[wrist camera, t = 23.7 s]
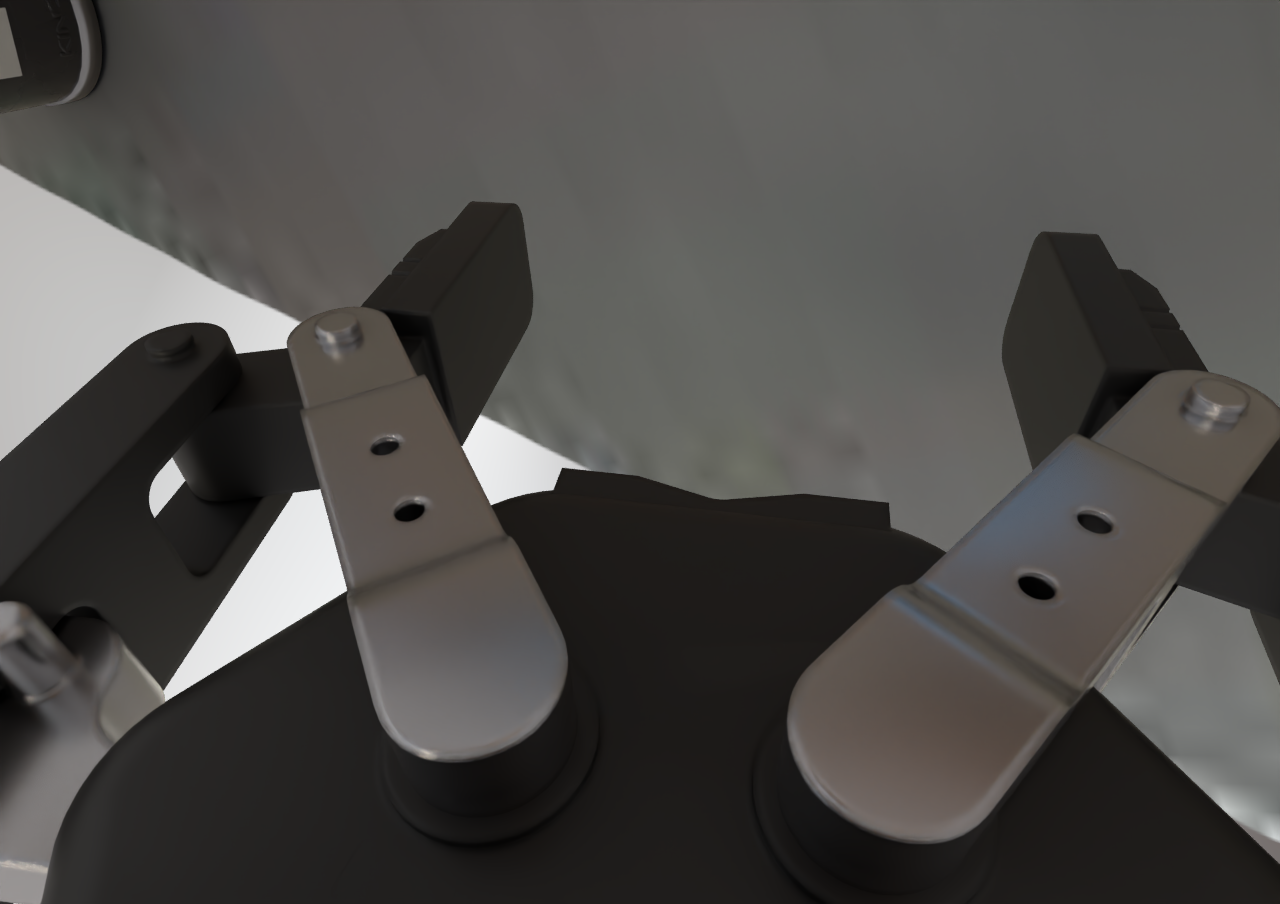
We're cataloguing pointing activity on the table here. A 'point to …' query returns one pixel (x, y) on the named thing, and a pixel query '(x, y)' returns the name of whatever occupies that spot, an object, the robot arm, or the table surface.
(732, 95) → the table surface
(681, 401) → the table surface
